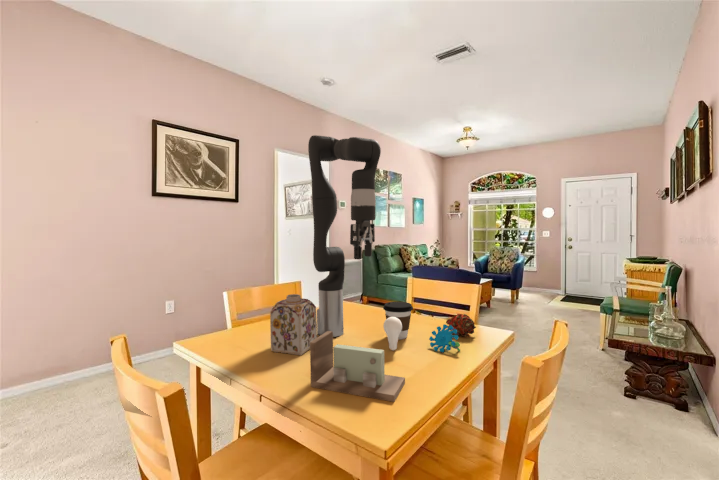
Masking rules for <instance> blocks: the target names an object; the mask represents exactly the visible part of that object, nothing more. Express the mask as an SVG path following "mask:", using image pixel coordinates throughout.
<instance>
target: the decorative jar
mask: <svg viewBox="0 0 719 480" xmlns="http://www.w3.org/2000/svg"><path fill="white" fill-rule="evenodd" d="M269 316H270V317H269V318H270V320H269V321H270V328H269V329H270V350H271V352H272V351H274V352H273V353H278V352H281V353H280V354H286V353H288V354H287V355H297V356H302V355H304V354H305V353H306V352H308V351H310V342H311V341H313V340H314V339H316V338H318V335H317V306H316V305H315V304H314V303H313V302H312V301H311V300H310V299H309V298H303V297H301V294H298V293H292V294H287V295H286V299H285V298H284V299H282V300H278V301H276V303H275V304H274V306H273V307H272V308H271V310H270V313H269Z"/></svg>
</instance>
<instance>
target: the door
mask: <svg viewBox="0 0 719 480" xmlns="http://www.w3.org/2000/svg"><path fill="white" fill-rule="evenodd" d="M333 367H334V368H342V369H346V380H351V381H357V382H363V373H364V372H368V373H375V374H376V385H382V384H383V383H384V382H385V375H386V374H385V349H381V348H379V349H378V348H372V347H371V348H369V347H362V346H354V345H347V344H338V343H337V344H336V345H333Z"/></svg>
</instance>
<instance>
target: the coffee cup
mask: <svg viewBox="0 0 719 480" xmlns="http://www.w3.org/2000/svg"><path fill="white" fill-rule="evenodd" d="M384 303H385V302H384ZM383 310H384V311H385V320H386V319H387V318H389V317H396V318H398V319H399V320H400V321H401V323H402V330H401V332H400V334H399V336H398V340H405V339H406V338H407V337H408V334H409V329H410V323H411V317H412V312H411V311H413V310H414V307H413V305H412V304H411V303H410V302H406V301H390V302H389V301H388V302H386V303H385V304H384V306H383Z"/></svg>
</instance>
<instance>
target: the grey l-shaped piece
mask: <svg viewBox="0 0 719 480" xmlns="http://www.w3.org/2000/svg"><path fill="white" fill-rule="evenodd" d="M333 347H334V337H333V331H327V332H325V333H324V334H322V335H319V336H317V338H316V339H314V340H313V341H311V342H310V349H309V354H310V355H309V356H310V357H309V359H310V387H311V388H316V389H320V390H328V391H332V392H338V393H344V394H347V395H348V394H349V395H354V396H360V397H366V398H370V399H376V400H382V401H386V402H387V401H388V402H393V403H394V402H395V401H397V398H398V397H399V395H400V393H401V391H402V390H403V387H404V385H405V384H406V377H405V376H404V377H403V376H397V375H390V374H385V382H384V383H383V384H382V385H376V374H375V373H368V372H364V373H363V382H357V381H351V380H346V369H342V368H334V351H333Z"/></svg>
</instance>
